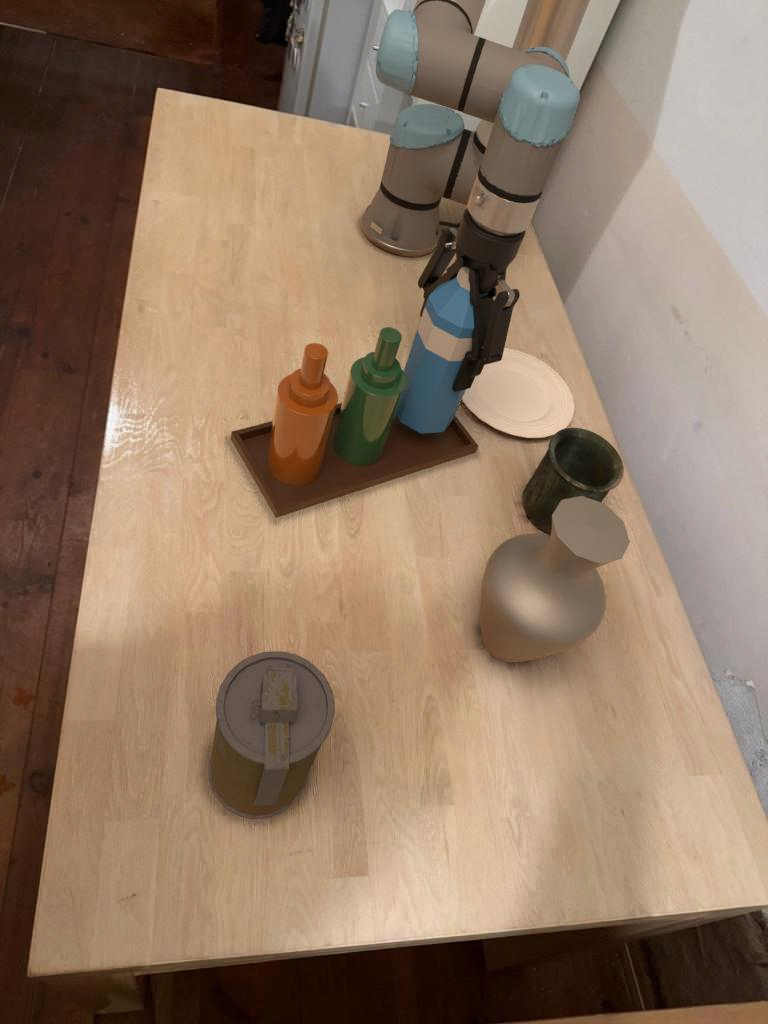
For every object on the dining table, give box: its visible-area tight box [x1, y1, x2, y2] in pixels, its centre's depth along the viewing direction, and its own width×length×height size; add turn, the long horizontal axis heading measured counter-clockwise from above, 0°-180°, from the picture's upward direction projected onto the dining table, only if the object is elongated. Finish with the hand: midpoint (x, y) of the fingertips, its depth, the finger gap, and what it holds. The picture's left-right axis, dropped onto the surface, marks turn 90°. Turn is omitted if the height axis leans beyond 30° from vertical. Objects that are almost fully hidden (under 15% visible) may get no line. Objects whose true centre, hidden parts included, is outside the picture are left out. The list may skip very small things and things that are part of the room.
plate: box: [461, 347, 576, 439], centre depth 123 cm, size 21×21×2 cm
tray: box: [230, 402, 479, 518], centre depth 108 cm, size 34×15×2 cm, turn 121°
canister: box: [208, 650, 336, 820], centre depth 71 cm, size 11×10×20 cm
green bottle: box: [333, 326, 407, 466], centre depth 100 cm, size 8×8×21 cm
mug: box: [521, 427, 625, 535], centre depth 105 cm, size 11×15×12 cm
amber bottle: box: [267, 342, 339, 486], centre depth 96 cm, size 8×8×21 cm
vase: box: [479, 496, 631, 664], centre depth 85 cm, size 14×14×25 cm
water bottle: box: [397, 266, 488, 434], centre depth 101 cm, size 9×9×25 cm
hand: (441, 363), depth 103 cm, fingers closed on water bottle, 9 cm apart
